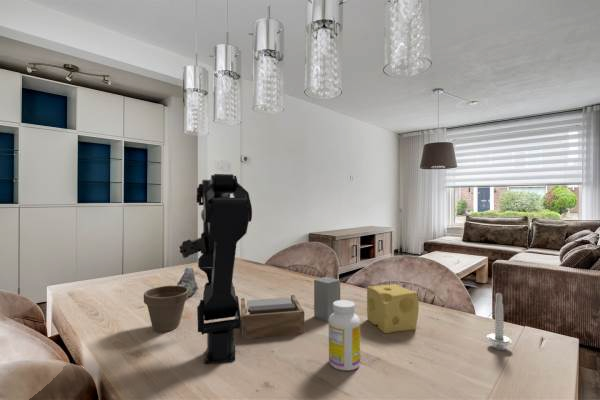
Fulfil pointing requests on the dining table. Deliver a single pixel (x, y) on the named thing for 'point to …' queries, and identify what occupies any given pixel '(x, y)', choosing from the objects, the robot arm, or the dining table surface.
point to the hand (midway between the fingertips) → (214, 287)
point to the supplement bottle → (344, 336)
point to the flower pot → (166, 306)
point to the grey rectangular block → (325, 296)
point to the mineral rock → (189, 281)
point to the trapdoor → (270, 305)
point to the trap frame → (272, 322)
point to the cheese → (392, 308)
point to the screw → (499, 326)
